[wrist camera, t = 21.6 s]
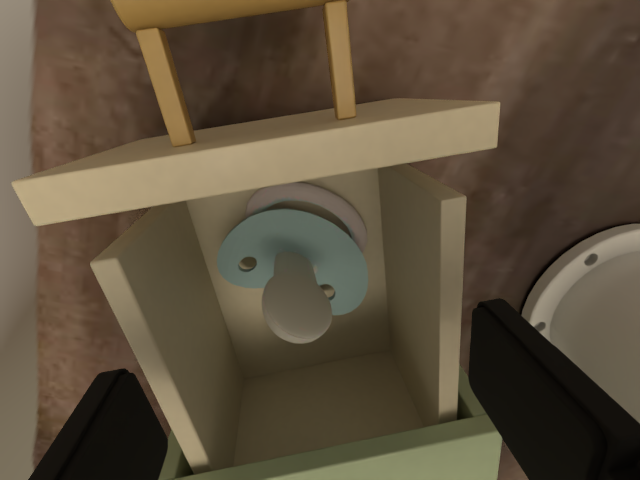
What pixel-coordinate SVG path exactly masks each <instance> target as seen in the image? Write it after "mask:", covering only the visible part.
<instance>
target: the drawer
mask: <svg viewBox="0 0 640 480" xmlns="http://www.w3.org/2000/svg"><path fill="white" fill-rule="evenodd" d="M348 1H349V0H111V2H112V5H113V7H114V9H115V11H116V12H117V14H118V16H119V17H120V19H121V21H122V22H123V24H124V25H125V26H126V27H127V28H128V29H129V30H130V31H131V32H135V33H136V35H137V38H138V41H139V44H140V47H141V50H142V53H143V56H144V60H145V63H146V66H147V69H148V72H149V75H150V78H151V81H152V84H153V88H154V91H155V94H156V97H157V100H158V103H159V106H160V109H161V112H162V115H163V119H164V122H165V125H166V128H167V131H168V134H169V135H164V136H158V137H152V138H145V139H140V140H137V141H134V142H131V143H128V144H125V145H122V146H119V147H116V148H113V149H110V150H107V151H104V152H100V153H97V154H94V155H91V156H88V157H85V158H82V159H79V160H76V161H73V162H70V163H67V164H64V165H61V166H58V167H55V168H52V169H48V170H45V171H42V172H39V173H36V174H33V175H30V176H27V177H24V178H21V179H18V180H15V181H13V182H12V183H11V184H12V186H13V188H14V190H15V192H16V193H17V195H18V197H19V199H20V201H21V203H22V205H23V206H24V208H25V210H26V212H27V214H28V216H29V217H30V219H31V221H32V223H33V225H34V226H42V225H47V224H53V223H59V222H65V221H71V220H77V219H83V218H89V217H94V216H100V215H106V214H112V213H118V212H124V211H130V210H135V209H141V208H147V207H152V208H151V209H150V210H149V211H148V212H146V213H145V214H144V215H143V216H142V217H141V218H140V219H139V220H137V221H136V222H135V223H134V224H133V225H132V226H131V227H130V228H128V229H127V230H126V231H125V232H124V233H123V234H122V235H121V236H119V237H118V238H117V239H116V240H115V241H114V242H113V243H112V244H111V245H109V246H108V247H107V248H106V249H105V250H104V251H103V252H102V253H100V254H99V255H98V256H97V257H96V258H95V259H94V260H93V261H91V262H90V266H91V268H92V270H93V272H94V274H95V276H96V278H97V280H98V282H99V284H100V286H101V288H102V290H103V292H104V294H105V296H106V298H107V300H108V302H109V304H110V306H111V308H112V310H113V312H114V314H115V316H116V318H117V320H118V322H119V324H120V326H121V328H122V330H123V332H124V334H125V336H126V338H127V340H128V342H129V344H130V346H131V348H132V350H133V352H134V354H135V356H136V358H137V360H138V362H139V364H140V366H141V368H142V370H143V372H144V374H145V376H146V378H147V380H148V382H149V384H150V386H151V388H152V390H153V392H154V394H155V396H156V398H157V401H158V403H159V405H160V407H161V409H162V411H163V413H164V415H165V417H166V419H167V421H168V423H169V425H170V427H171V429H172V431H173V433H174V435H175V437H176V439H177V441H178V443H179V445H180V447H181V449H182V451H183V453H184V455H185V457H186V459H187V461H188V463H189V465H190V467H191V469H192V471H193V473H194V475H195V474H200V473H205V472H210V471H215V470H220V469H224V468H229V467H234V466H239V465H244V464H249V463H253V462H258V461H263V460H268V459H273V458H278V457H282V456H287V455H292V454H297V453H302V452H307V451H311V450H316V449H321V448H326V447H331V446H336V445H340V444H345V443H350V442H355V441H360V440H365V439H369V438H374V437H379V436H384V435H389V434H394V433H398V432H403V431H408V430H413V429H418V428H423V427H427V426H432V425H437V424H442V423H447V422H452V421H456V420H457V402H458V379H459V357H460V334H461V311H462V289H463V266H464V244H465V221H466V196H465V195H463V194H461V193H459V192H457V191H455V190H454V189H452V188H450V187H448V186H446V185H444V184H443V183H441V182H439V181H437V180H435V179H434V178H432V177H430V176H428V175H426V174H424V173H423V172H421V171H419V170H417V169H415V168H413V167H412V166H410V165H408V164H406V163H411V162H417V161H423V160H429V159H435V158H441V157H446V156H452V155H458V154H464V153H470V152H476V151H482V150H488V149H493V148H496V147H497V140H498V127H499V114H500V102H497V101H468V100H439V99H409V98H393V99H387V100H381V101H375V102H369V103H362V104H356V103H355V92H354V81H353V70H352V59H351V48H350V37H349V26H348V15H347V4H346V2H348ZM322 5H324V7H323V19H324V28H325V36H326V45H327V53H328V62H329V70H330V79H331V87H332V96H333V104H334V108H331V109H325V110H319V111H313V112H307V113H300V114H294V115H288V116H282V117H276V118H269V119H263V120H257V121H251V122H245V123H238V124H232V125H226V126H220V127H214V128H207V129H201V130H195V131H193V128H192V124H191V121H190V117H189V114H188V110H187V107H186V104H185V100H184V97H183V93H182V90H181V86H180V83H179V80H178V76H177V73H176V69H175V66H174V62H173V59H172V55H171V52H170V49H169V45H168V42H167V38H166V35H165V32H164V31H163V30H161V29H166V28H173V27H180V26H186V25H193V24H200V23H207V22H214V21H220V20H227V19H234V18H241V17H248V16H254V15H261V14H268V13H275V12H281V11H288V10H295V9H302V8H309V7H315V6H322ZM294 182H300V183H307V184H312V185H315V186H318V187H321V188H324V189H327V190H329V191H331V192H332V193H334V194H336V195H338V196H339V197H341V198H343V199H344V200H345V201H346V202H347V203H349V204H350V205H351V206H352V207H353V208H354V209H355V210H356V211H357V213H358V214H359V215H360V217H361V218H362V219H363V222H364V224H365V227H366V229H367V244H366V247H365V250H364V252H363V253H362V254H363V256H364V259H365V261H366V264H367V269H368V288H367V292H366V295H365V297H364V299H363V300H362V302H361V304H360V305H359V306H358V307H357V308H356V309H354V310H352V311H351V312H349V313H346V314H342V315H332V320H331V324H330V326H329V328H328V329H327V331H326V332H325V333H324V334H323V335H322V336H320V337H319V338H318V339H316V340H314V341H311V342H308V343H292V342H288V341H286V340H284V339H282V338H280V337H279V336H277V335H276V334H275V333H274V332H273V331H272V330H271V329H270V327H269V326H268V324H267V322H266V320H265V318H264V315H263V311H262V294H263V291H264V288H244V287H240V286H236V285H233V284H231V283H230V282H228V281H227V280H225V279H224V278H223V277H222V275H221V274H220V273H219V270H218V267H217V256H218V251H219V249H220V247H221V244H222V242H223V240H224V239H225V237H226V236H227V234H228V233H229V232H230V231H231V230H232V229H233V228H234V227H235V226H236V225H238V224H239V223H240V222H241V221H242V220H244V219H246V216H245V212H246V206H247V203H248V201H249V200H250V198H251V197H252V195H253V194H254V193H255V192H257V191H258V190H260V189H261V188H265V187H270V186H276V185H282V184H288V183H294ZM281 208H289V209H297V210H302V211H307V212H310V213H313V214H316V215H318V216H320V217H323V218H325V219H327V220H329V221H330V222H332V223H334V224H335V225H336V226H338V227H339V228H340V229H342V230H343V231H344V232H345V233H346V234H348V235H349V230H348V228H347V226H346V225H345V224H344V222H343V221H342V220H341V219H340V218H339V217H337V216H336V215H335V214H334V213H332V212H331V211H329V210H327V209H325V208H323V207H321V206H319V205H316V204H313V203H310V202H304V201H297V200H295V201H283V202H279V203H275V204H273V205H272V206H270V207H269V208H267V209H266V210H270V209H281ZM256 263H257V261H256V259H255V258H254V257H245V258H243V259H242V260H241V261H240V262H239V266H240V267H241V268H243V269H251V268H253V267H254V266H255V265H256ZM320 287H321V288H322V290H323V291H324V292H325V294H326V295H327V297H331V296H333V294H334V292H335V290H334V288H333V287H332V286H331V285H329V284H323V285H321V286H320Z"/></svg>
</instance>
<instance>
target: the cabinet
mask: <svg viewBox="0 0 640 480" xmlns="http://www.w3.org/2000/svg"><path fill="white" fill-rule="evenodd" d="M501 445H502V437H501V435H500V434H499V432H498V431H497V429H496V427H495V426H494V424H493V423H492V421H491V420H490V418H489V417H488V415H487V413H486V412H485V410H484V409H483V407H482V406H481V404H480V403H479V401H478V399H477V398H476V396H475V395H474V393H473V391H472V390H471V387H470V384H469V378H468V376H467V375H466V373H465V372H464V370H463V369H462V367H461V366H460V364H459V379H458V402H457V420H456V421H452V422H447V423H442V424H437V425H432V426H427V427H423V428H418V429H413V430H408V431H403V432H398V433H394V434H389V435H384V436H379V437H374V438H369V439H365V440H360V441H355V442H350V443H345V444H340V445H336V446H331V447H326V448H321V449H316V450H311V451H307V452H302V453H297V454H292V455H287V456H282V457H278V458H273V459H268V460H263V461H258V462H253V463H249V464H244V465H239V466H234V467H229V468H224V469H220V470H215V471H210V472H205V473H200V474H195V475H194V473H193V471H192V469H191V467H190V465H189V463H188V461H187V459H186V457H185V455H184V453H183V451H182V449H181V447H180V445H179V443H178V441H177V439H176V437H175V435H174V433H173V431H172V429H171V432H170V435H169V438H168V450H167V454H166V457H165V460H164V464H163V467H162V470H161V473H160V476H159V479H158V480H497V474H498V467H499V460H500V452H501Z"/></svg>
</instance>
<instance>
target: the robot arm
mask: <svg viewBox="0 0 640 480" xmlns="http://www.w3.org/2000/svg"><path fill="white" fill-rule="evenodd" d="M469 384H470V387H471V390H472V391H473V393H474V395H475V396H476V398H477V399H478V401H479V403H480V404H481V406H482V407H483V409H484V410H485V412H486V413H487V415H488V417H489V418H490V420H491V421H492V423H493V424H494V426H495V427H496V429H497V431H498V432H499V434H500V435H501V437H502V438H503V440H504V441H505V443H506V445H507V446H508V448H509V449H510V451H511V452H512V454H513V455H514V457H515V459H516V460H517V462H518V463H519V465H520V466H521V468H522V469H523V471H524V473H525V474H526V476H527V477H528V479H529V480H640V224H629V225H623V226H618V227H614V228H611V229H608V230H605V231H602V232H600V233H597V234H595V235H593V236H591V237H589V238H587V239H586V240H584V241H582V242H580V243H578V244H577V245H575V246H574V247H573V248H571V249H570V250H568V251H567V252H565V253H564V254H563V255H562V256H560V257H559V258H558V259H557V260H556V261H555V262H554V263H553V264H552V265H551V266H550V267H549V268H548V269H547V270H546V271H545V272H544V274H543V275H542V276H541V277H540V278H539V280H538V281H537V282H536V284H535V286H534V287H533V289H532V291H531V292H530V294H529V295H528V298H527V300H526V303H525V305H524V308H523V310H522V315H520V314H519V313H518V312H517V311H516V310H515V309H514V308H513V307H511V306H510V305H509V304H508V303H507V302H506V301H505V300H503V299H501V298H499V299H493V300H488V301H482V302H479V304H478V306H477V308H475V309H473V312H472V327H471V344H470V361H469ZM167 450H168V439H167V436H166V434H165V432H164V430H163V428H162V427H161V425H160V423H159V421H158V419H157V417H156V415H155V413H154V411H153V409H152V407H151V405H150V403H149V401H148V399H147V397H146V395H145V393H144V391H143V389H142V387H141V385H140V383H139V381H138V380H137V378H136V376H135V374H133V373H129V372H128V370H126V369H118V370H113V371H107V372H102V373H100V374H98V375H97V377H96V378H95V379H94V381H93V382H92V384H91V385H90V387H89V388H88V390H87V391H86V393H85V394H84V396H83V398H82V399H81V401H80V402H79V404H78V405H77V407H76V408H75V410H74V411H73V413H72V414H71V416H70V417H69V419H68V420H67V422H66V423H65V425H64V426H63V428H62V429H61V431H60V432H59V434H58V435H57V437H56V438H55V440H54V442H53V443H52V445H51V446H50V448H49V449H48V451H47V452H46V454H45V455H44V457H43V458H42V460H41V461H40V463H39V464H38V466H37V467H36V469H35V470H34V472H33V473H32V475H31V476H30V478H29V479H28V480H158V479H159V476H160V473H161V470H162V467H163V464H164V460H165V457H166V454H167Z"/></svg>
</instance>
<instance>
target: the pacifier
mask: <svg viewBox="0 0 640 480" xmlns="http://www.w3.org/2000/svg"><path fill="white" fill-rule="evenodd" d="M295 200H297V201H304V202H310V203H313V204H316V205H319V206H321V207H323V208H325V209H327V210H329V211H331V212H332V213H334V214H335V215H336V216H337V217H339V218H340V219H341V220H342V221H343V222H344V224H345V225H346V226H347V228H348V230H349V235H348V234H346V233H345V232H344V231H343V230H342V229H340V228H339V227H338V226H336V225H335V224H334V223H332V222H330V221H329V220H327V219H325V218H323V217H320V216H318V215H316V214H313V213H310V212H307V211H302V210H297V209H289V208H281V209H270V210H266V209H267V208H269V207H270V206H272V205H273V204H275V203H279V202H283V201H295ZM245 216H246V219H244V220H242V221H241V222H240V223H239V224H238V225H236V226H235V227H234V228H233V229H232V230H231V231H230V232H229V233H228V234H227V236H226V237H225V239H224V240H223V242H222V244H221V247H220V249H219V251H218V256H217V267H218V270H219V273H220V274H221V275H222V277H223V278H224V279H225V280H227V281H228V282H230V283H231V284H233V285H236V286H240V287H244V288H264V291H263V294H262V311H263V315H264V318H265V320H266V322H267V324H268V326H269V327H270V329H271V330H272V331H273V332H274V333H275V334H276V335H277V336H279V337H280V338H282V339H284V340H286V341H288V342H292V343H308V342H311V341H314V340H316V339H318V338H319V337H320V336H322V335H323V334H324V333H325V332H326V331H327V329H328V328H329V326H330V324H331V320H332V315H342V314H346V313H349V312H351V311H352V310H354V309H356V308H357V307H358V306H359V305H360V304H361V302H362V300H363V299H364V297H365V295H366V292H367V288H368V269H367V264H366V261H365V259H364V256H363V254H362V253H363V252H364V250H365V247H366V244H367V229H366V227H365V224H364V222H363V219H362V218H361V217H360V215H359V214H358V213H357V211H356V210H355V209H354V208H353V207H352V206H351V205H350V204H349V203H347V202H346V201H345V200H344V199H343V198H341V197H339V196H338V195H336V194H334V193H332V192H331V191H329V190H327V189H324V188H321V187H318V186H315V185H312V184H307V183H300V182H294V183H288V184H282V185H276V186H270V187H265V188H261V189H260V190H258V191H257V192H255V193H254V194H253V195H252V197H251V198H250V200H249V201H248V203H247V206H246V212H245ZM245 257H254V258H255V259H256V261H257V263H256V265H255V266H254V267H253V268H251V269H243V268H241V267H240V266H239V262H240V261H241V260H242V259H243V258H245ZM323 284H329V285H331V286H332V287H333V288H334V290H335V292H334V294H333V296H331V297H327V295H326V294H325V292H324V291H323V290H322V288H321V287H320V286H321V285H323Z"/></svg>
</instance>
